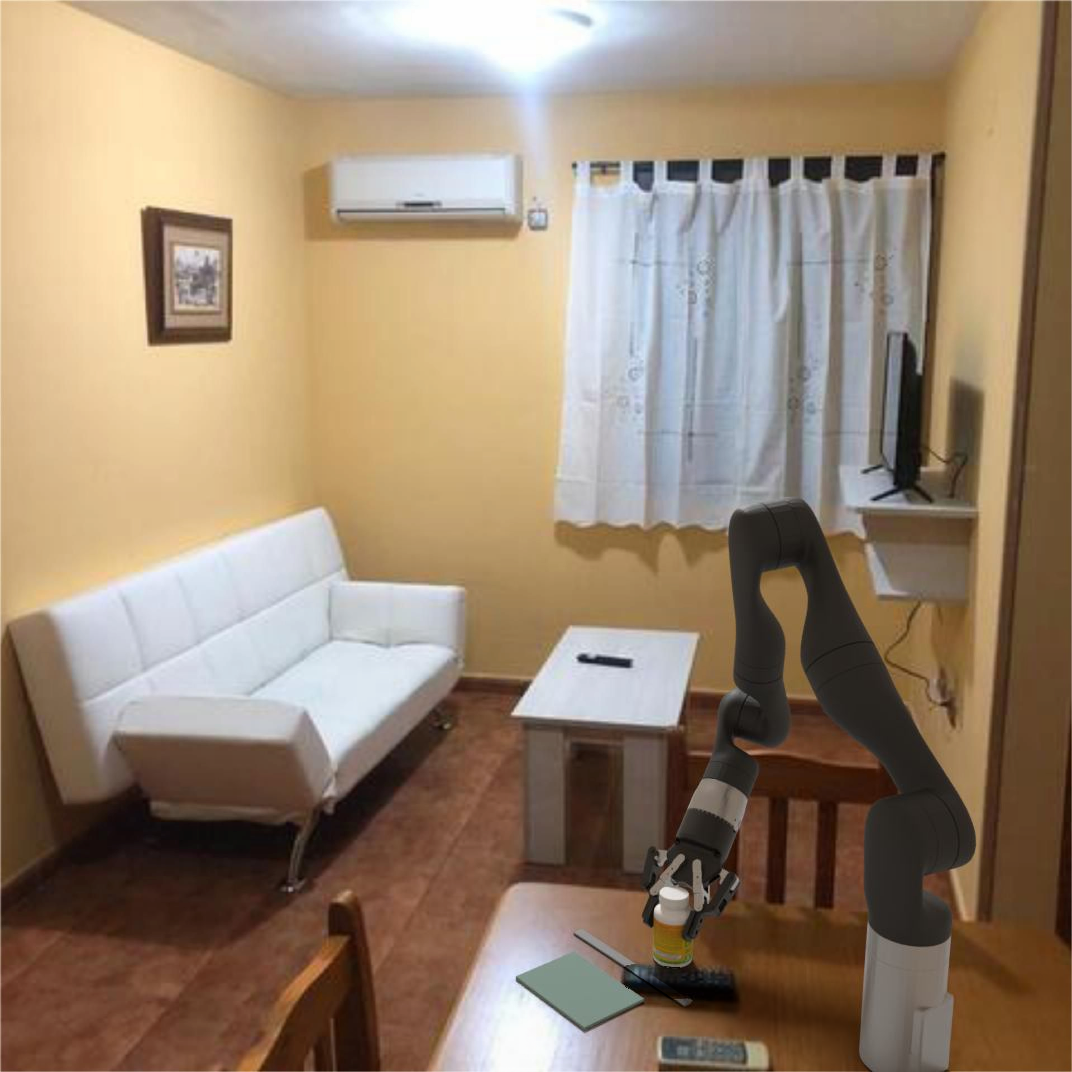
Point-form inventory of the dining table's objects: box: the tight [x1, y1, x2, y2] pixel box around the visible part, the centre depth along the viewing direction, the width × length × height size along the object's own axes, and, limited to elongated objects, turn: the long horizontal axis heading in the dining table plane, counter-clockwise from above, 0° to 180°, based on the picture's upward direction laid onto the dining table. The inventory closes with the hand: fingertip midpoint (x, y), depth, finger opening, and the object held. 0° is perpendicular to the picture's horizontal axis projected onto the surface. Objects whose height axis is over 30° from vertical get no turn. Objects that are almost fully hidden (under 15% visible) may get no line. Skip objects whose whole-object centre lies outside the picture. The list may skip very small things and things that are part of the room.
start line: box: [573, 928, 693, 1008], centre depth 156 cm, size 22×2×1 cm, turn 38°
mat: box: [515, 951, 645, 1031], centre depth 151 cm, size 14×10×1 cm
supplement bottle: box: [652, 886, 694, 968], centre depth 158 cm, size 5×5×10 cm
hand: (666, 932), depth 156 cm, fingers closed on supplement bottle, 5 cm apart
